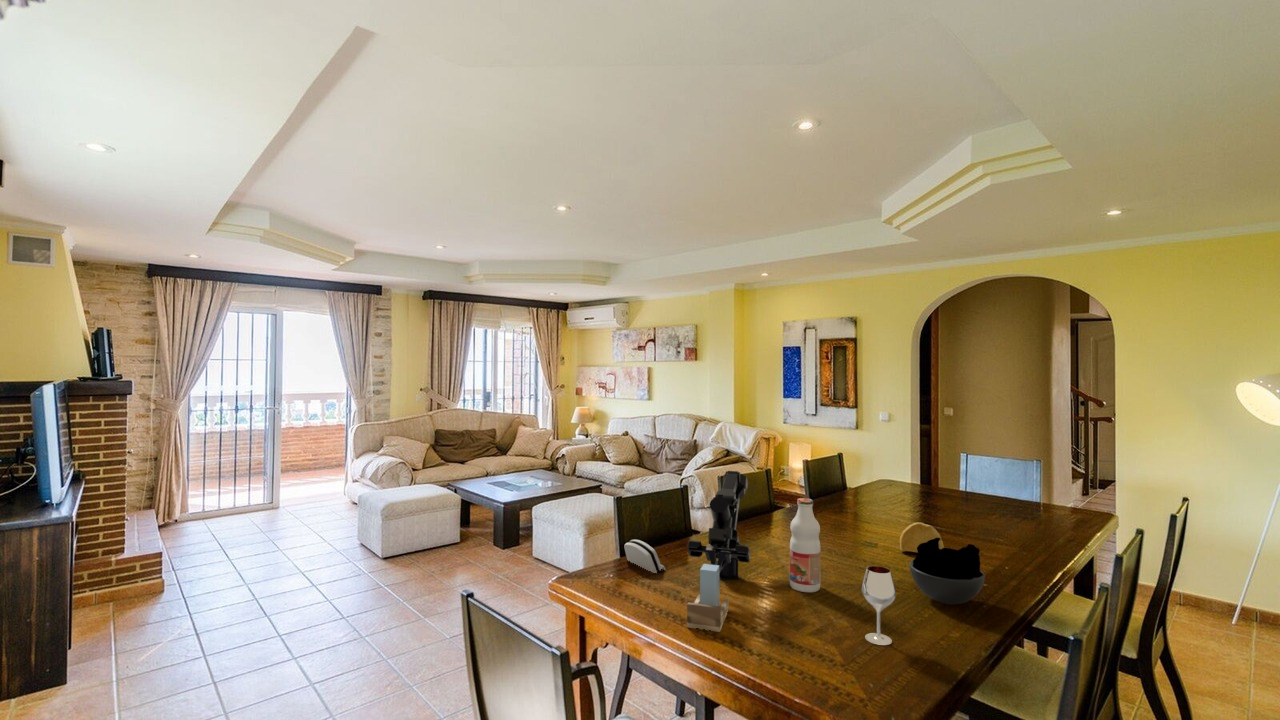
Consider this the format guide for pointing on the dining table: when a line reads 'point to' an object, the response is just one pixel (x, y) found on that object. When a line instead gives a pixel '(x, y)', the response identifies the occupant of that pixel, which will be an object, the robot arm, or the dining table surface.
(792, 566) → the fruit juice
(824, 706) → the dining table surface
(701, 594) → the light blue block
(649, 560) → the white arched piece
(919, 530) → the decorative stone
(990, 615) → the dining table surface
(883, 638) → the wineglass
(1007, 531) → the dining table surface
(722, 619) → the channel
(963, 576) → the coal bowl
